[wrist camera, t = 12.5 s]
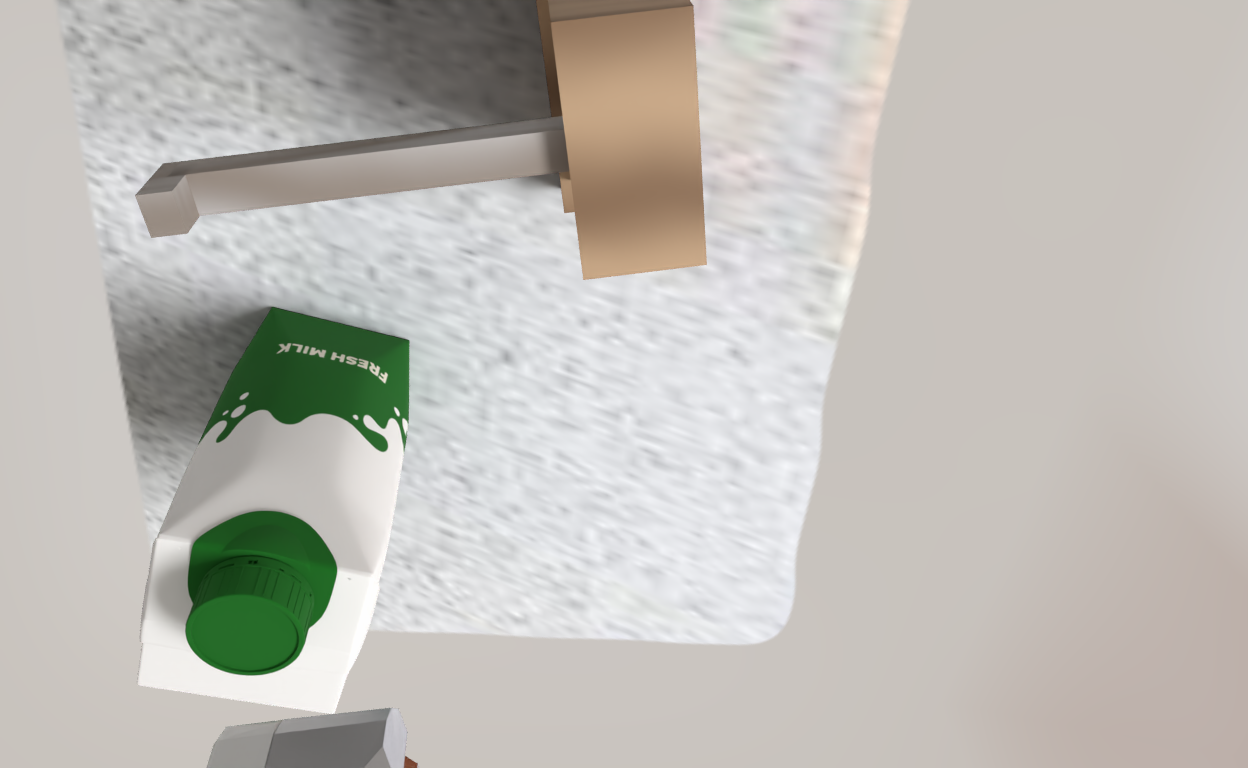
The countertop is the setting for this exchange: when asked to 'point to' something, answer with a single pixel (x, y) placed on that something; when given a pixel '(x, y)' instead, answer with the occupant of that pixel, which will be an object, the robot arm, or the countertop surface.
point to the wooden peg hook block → (519, 146)
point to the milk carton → (281, 520)
